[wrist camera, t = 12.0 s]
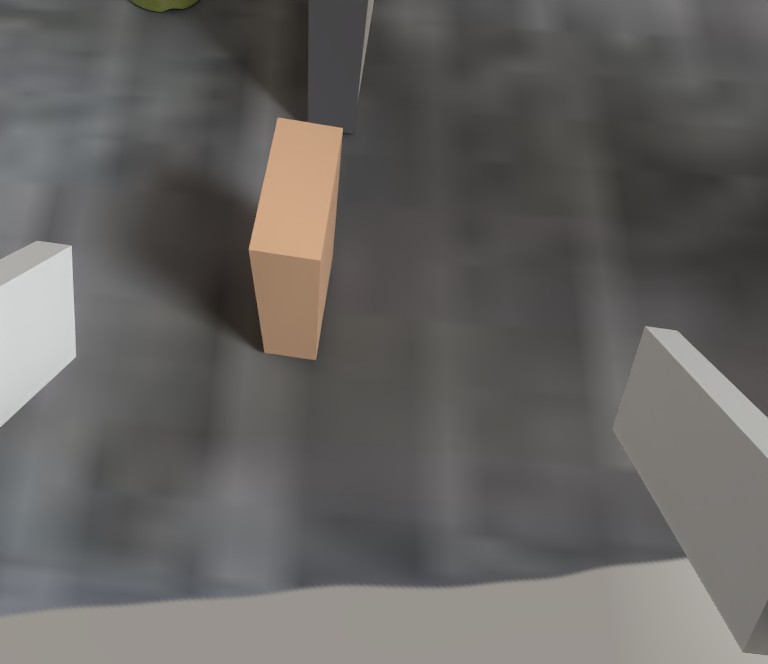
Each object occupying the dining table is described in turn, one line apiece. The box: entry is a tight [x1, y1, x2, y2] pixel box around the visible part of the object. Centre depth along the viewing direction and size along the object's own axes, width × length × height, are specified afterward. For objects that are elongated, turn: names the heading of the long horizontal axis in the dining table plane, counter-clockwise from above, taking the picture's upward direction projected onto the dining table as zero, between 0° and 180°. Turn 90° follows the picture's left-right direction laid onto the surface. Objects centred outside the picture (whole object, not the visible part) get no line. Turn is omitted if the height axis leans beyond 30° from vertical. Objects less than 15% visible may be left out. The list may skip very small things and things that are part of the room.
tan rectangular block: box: [249, 118, 343, 360], centre depth 34 cm, size 3×7×12 cm, turn 174°
